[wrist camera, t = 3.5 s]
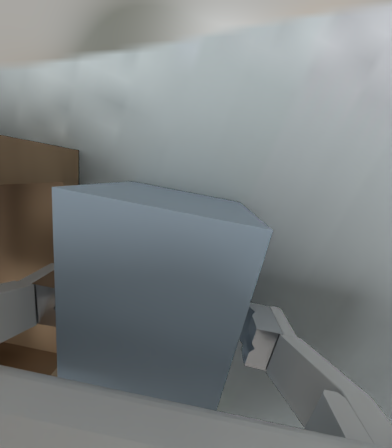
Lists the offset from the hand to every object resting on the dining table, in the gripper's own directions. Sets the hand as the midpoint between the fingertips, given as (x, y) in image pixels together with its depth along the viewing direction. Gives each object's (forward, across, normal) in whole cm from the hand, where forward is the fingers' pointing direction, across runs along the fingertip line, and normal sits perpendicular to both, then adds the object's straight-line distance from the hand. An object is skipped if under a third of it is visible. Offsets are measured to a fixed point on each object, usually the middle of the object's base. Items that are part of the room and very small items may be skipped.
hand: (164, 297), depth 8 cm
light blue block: (+2, 0, 0) cm, 2 cm away
